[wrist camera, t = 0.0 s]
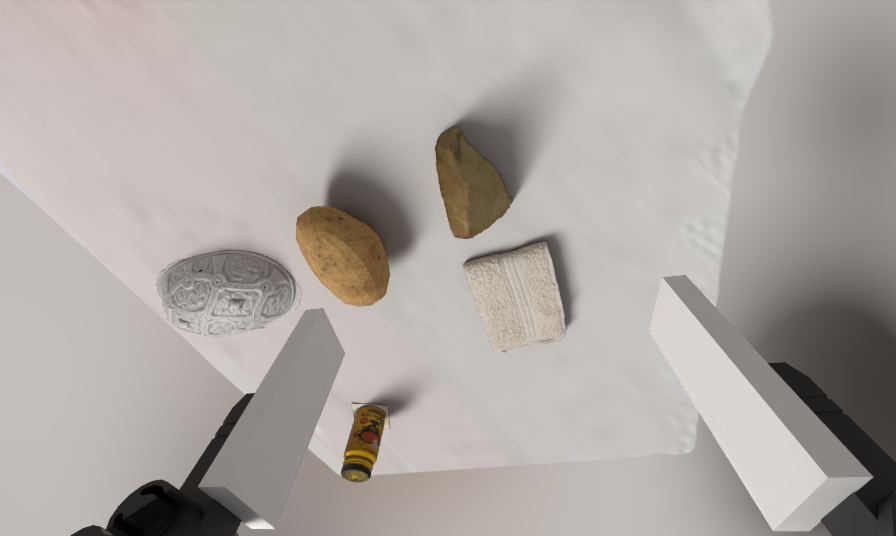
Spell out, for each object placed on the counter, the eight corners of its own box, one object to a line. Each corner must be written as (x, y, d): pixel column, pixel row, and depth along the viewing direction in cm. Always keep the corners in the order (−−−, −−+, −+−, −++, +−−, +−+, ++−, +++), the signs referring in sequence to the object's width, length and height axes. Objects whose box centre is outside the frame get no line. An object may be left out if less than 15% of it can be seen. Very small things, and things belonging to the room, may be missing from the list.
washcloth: (494, 344, 55) (495, 359, 52) (459, 259, 46) (458, 271, 43) (567, 330, 52) (571, 344, 50) (545, 235, 43) (550, 247, 40)
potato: (354, 177, 39) (331, 204, 33) (411, 266, 46) (402, 303, 40) (292, 208, 42) (259, 238, 35) (355, 287, 49) (337, 326, 42)
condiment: (387, 404, 66) (372, 469, 56) (390, 428, 70) (377, 490, 60) (351, 402, 66) (330, 465, 56) (356, 425, 70) (337, 487, 61)
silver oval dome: (128, 277, 50) (93, 309, 45) (263, 223, 45) (240, 252, 40) (209, 338, 59) (187, 370, 54) (328, 299, 54) (317, 330, 49)
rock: (407, 132, 34) (421, 224, 38) (454, 132, 27) (463, 243, 32) (488, 120, 39) (492, 203, 43) (545, 118, 32) (542, 216, 37)
